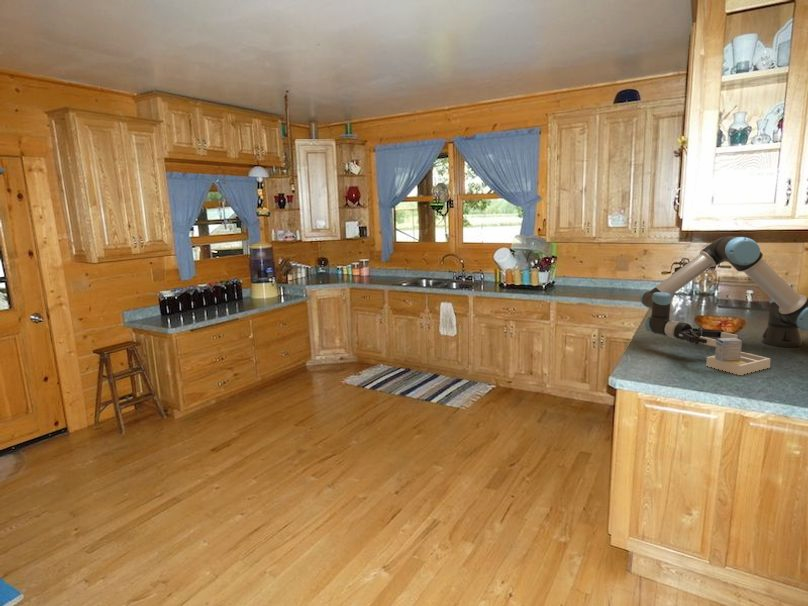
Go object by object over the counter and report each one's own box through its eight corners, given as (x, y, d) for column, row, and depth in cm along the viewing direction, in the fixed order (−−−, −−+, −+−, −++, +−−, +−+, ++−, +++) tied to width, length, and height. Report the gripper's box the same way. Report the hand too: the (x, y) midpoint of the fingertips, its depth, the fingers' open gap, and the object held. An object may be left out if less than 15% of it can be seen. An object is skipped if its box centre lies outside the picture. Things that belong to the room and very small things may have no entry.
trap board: (735, 359, 215) (736, 349, 214) (769, 367, 202) (770, 357, 201) (706, 366, 207) (706, 356, 206) (740, 375, 194) (741, 365, 194)
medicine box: (733, 357, 203) (734, 337, 202) (740, 360, 199) (742, 340, 197) (714, 358, 203) (716, 338, 202) (721, 361, 199) (723, 341, 197)
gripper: (696, 334, 225) (744, 345, 206) (658, 342, 215) (705, 354, 196) (698, 318, 224) (746, 327, 205) (659, 325, 214) (706, 336, 195)
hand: (726, 340), depth 201 cm, fingers open, 13 cm apart
